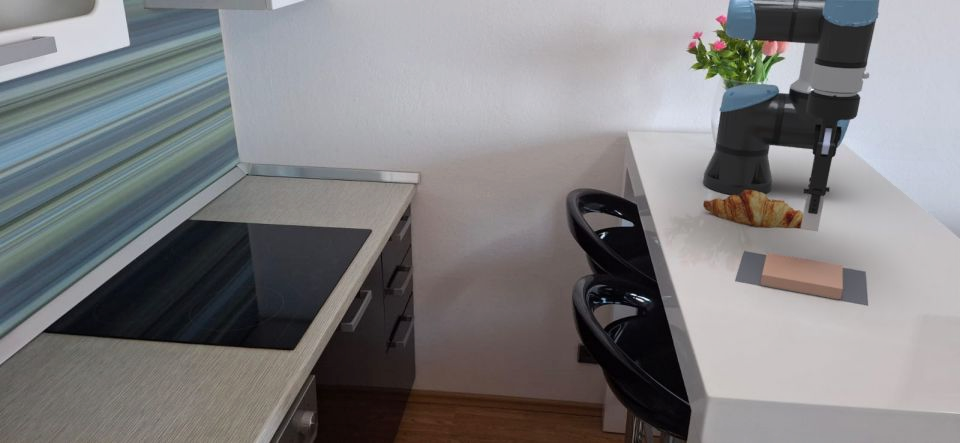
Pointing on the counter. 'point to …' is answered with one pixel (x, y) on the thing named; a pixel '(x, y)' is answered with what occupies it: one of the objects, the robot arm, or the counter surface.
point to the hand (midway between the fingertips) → (809, 228)
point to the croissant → (755, 210)
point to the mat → (851, 292)
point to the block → (803, 276)
